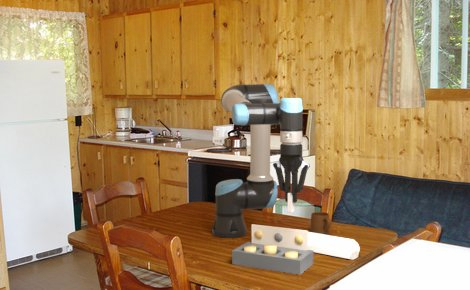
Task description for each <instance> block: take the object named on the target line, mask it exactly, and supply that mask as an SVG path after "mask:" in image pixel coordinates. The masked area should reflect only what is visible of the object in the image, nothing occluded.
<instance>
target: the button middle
mask: <svg viewBox="0 0 470 290" xmlns="http://www.w3.org/2000/svg"><path fill="white" fill-rule="evenodd" d="M264 254H268V255H276V254H277V246H276V245H274V244H267V245H264Z"/></svg>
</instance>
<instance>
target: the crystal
mask: <svg viewBox="0 0 470 290" xmlns="http://www.w3.org/2000/svg"><path fill="white" fill-rule="evenodd" d="M308 250H313V253H316V254H322V255H328V256H332V257H337V258H342V259H348V260H356V259H357V258H359V253H360V250H361V247H360V244H359V243H358V242H357V241H356V240H355V239H353V238H348V237H347V238H346V237H342V236H336V235H325V234H319V233H313V232H311V231H308Z"/></svg>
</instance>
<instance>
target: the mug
mask: <svg viewBox="0 0 470 290" xmlns="http://www.w3.org/2000/svg"><path fill="white" fill-rule="evenodd" d="M331 226H332V220H331V219H330V216H329V213H328V212H323V211H322V212H321V211H318V212H316V211H315V212H312V213H311V215H310V232H313V233H319V234H325V235H329V234H330V228H331Z"/></svg>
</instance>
